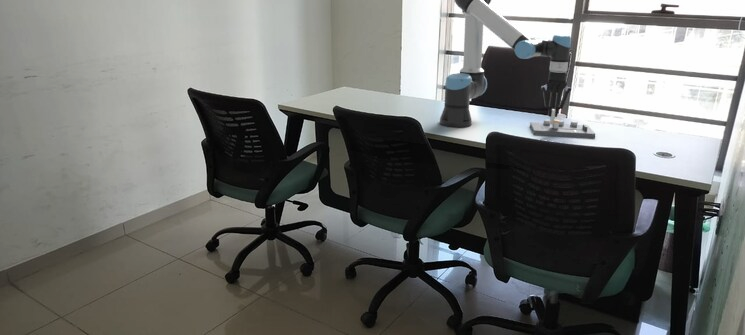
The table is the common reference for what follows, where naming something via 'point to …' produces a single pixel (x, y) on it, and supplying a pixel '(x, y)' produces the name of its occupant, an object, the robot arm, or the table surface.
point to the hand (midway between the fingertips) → (551, 123)
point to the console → (562, 129)
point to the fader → (556, 124)
